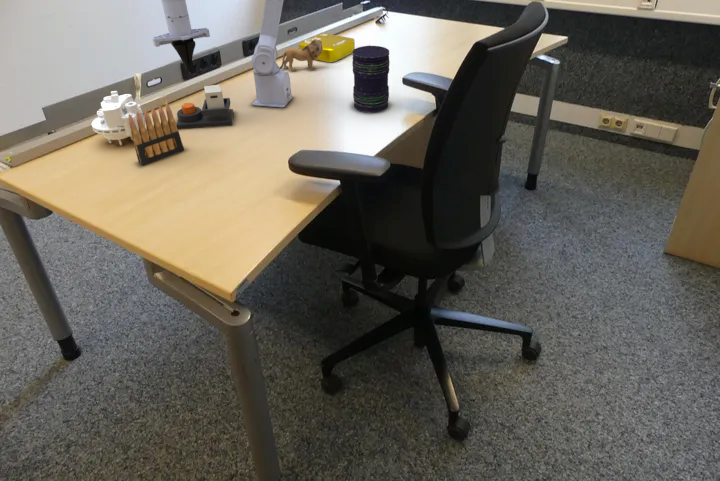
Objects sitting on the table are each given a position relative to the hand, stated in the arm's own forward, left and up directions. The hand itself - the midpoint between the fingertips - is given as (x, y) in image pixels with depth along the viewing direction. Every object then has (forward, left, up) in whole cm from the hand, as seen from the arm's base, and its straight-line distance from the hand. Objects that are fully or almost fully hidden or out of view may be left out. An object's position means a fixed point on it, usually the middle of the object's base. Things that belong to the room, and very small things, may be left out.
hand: (188, 68), depth 139 cm
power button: (-4, +11, -8) cm, 14 cm away
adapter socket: (-11, +8, -7) cm, 15 cm away
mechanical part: (+8, +24, -11) cm, 27 cm away
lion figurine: (-21, -34, -11) cm, 41 cm away
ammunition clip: (-6, +30, -11) cm, 32 cm away
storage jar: (-49, -8, -11) cm, 51 cm away
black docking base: (-8, +10, -10) cm, 16 cm away
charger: (-11, +8, -7) cm, 15 cm away
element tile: (-25, -50, -11) cm, 57 cm away
